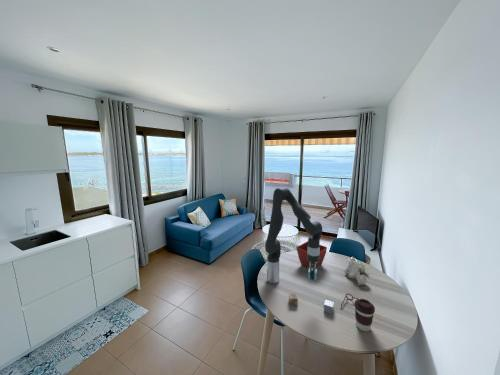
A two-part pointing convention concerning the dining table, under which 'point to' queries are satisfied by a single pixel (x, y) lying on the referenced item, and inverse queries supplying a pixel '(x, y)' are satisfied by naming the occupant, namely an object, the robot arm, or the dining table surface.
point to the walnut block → (293, 299)
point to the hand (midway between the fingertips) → (312, 276)
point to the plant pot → (303, 255)
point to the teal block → (314, 274)
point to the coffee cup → (364, 314)
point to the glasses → (347, 298)
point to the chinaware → (356, 271)
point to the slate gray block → (328, 306)
